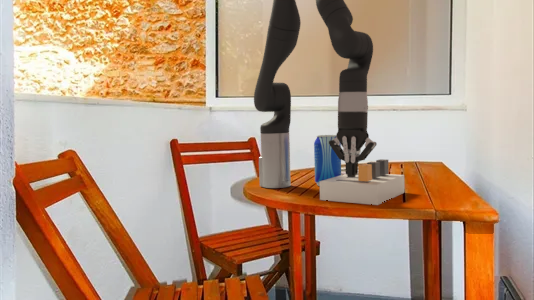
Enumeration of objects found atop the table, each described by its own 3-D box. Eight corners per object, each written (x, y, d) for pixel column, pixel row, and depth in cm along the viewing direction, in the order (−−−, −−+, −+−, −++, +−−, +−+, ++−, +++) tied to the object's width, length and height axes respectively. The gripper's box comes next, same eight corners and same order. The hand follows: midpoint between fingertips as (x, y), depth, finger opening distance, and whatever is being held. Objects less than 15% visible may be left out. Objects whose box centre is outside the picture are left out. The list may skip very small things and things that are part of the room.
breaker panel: (320, 199, 121) (319, 180, 120) (351, 188, 137) (351, 172, 137) (377, 205, 112) (377, 184, 111) (404, 192, 128) (404, 174, 127)
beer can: (340, 187, 141) (339, 135, 140) (313, 187, 143) (312, 136, 142) (342, 183, 149) (341, 134, 148) (316, 183, 151) (315, 135, 150)
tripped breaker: (358, 180, 116) (358, 165, 116) (363, 179, 119) (362, 164, 118) (367, 181, 115) (367, 165, 114) (371, 179, 117) (371, 164, 117)
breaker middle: (367, 177, 122) (366, 162, 121) (371, 176, 124) (371, 161, 124) (375, 178, 120) (375, 163, 120) (379, 176, 123) (379, 161, 122)
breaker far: (376, 174, 127) (376, 160, 127) (380, 173, 129) (380, 159, 129) (384, 175, 126) (384, 160, 125) (388, 173, 128) (388, 159, 128)
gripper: (322, 110, 118) (322, 176, 119) (371, 110, 110) (370, 181, 112) (336, 110, 124) (335, 173, 125) (382, 110, 116) (381, 177, 118)
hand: (351, 176), depth 119 cm, fingers closed
